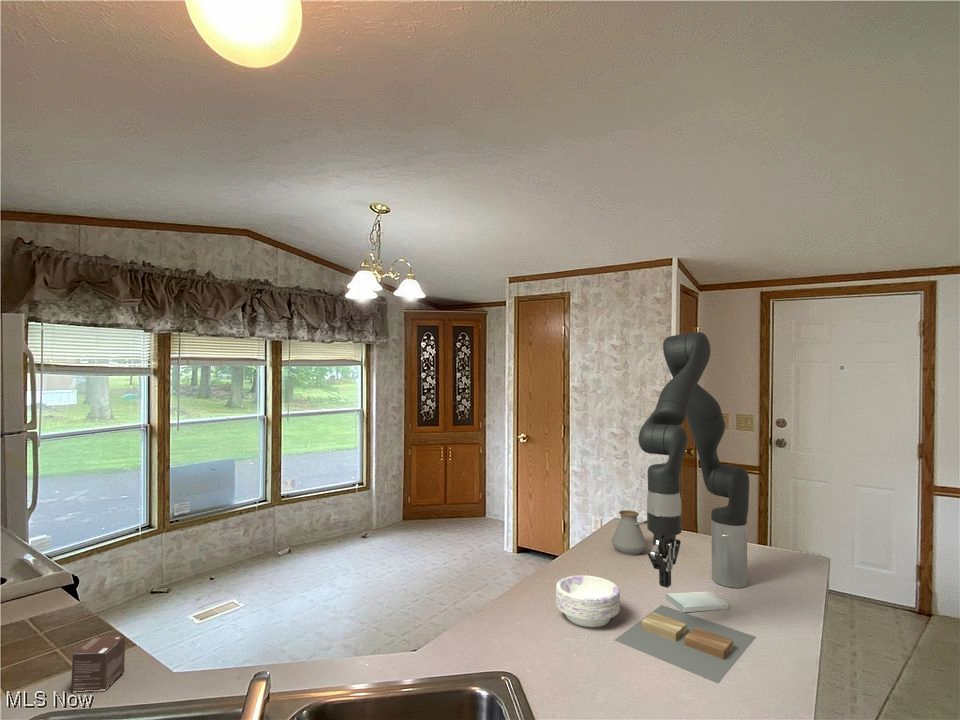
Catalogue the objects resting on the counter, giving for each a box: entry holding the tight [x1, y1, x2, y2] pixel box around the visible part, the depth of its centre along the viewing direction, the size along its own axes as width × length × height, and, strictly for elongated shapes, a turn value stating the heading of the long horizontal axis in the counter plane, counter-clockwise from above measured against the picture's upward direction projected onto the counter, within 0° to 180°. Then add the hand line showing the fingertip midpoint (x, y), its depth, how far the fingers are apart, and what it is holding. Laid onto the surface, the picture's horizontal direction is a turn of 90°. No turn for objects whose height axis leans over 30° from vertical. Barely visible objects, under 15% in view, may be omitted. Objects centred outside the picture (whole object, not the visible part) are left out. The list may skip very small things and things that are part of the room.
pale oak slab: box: [641, 611, 687, 642], centre depth 115 cm, size 2×8×6 cm
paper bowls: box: [555, 574, 621, 628], centre depth 121 cm, size 15×15×8 cm
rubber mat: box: [614, 604, 757, 684], centre depth 111 cm, size 24×22×1 cm
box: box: [70, 635, 126, 693], centre depth 95 cm, size 6×6×7 cm
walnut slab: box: [685, 627, 733, 660], centre depth 108 cm, size 2×8×6 cm
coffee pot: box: [610, 509, 648, 556], centre depth 164 cm, size 21×12×15 cm, turn 27°
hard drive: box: [664, 591, 729, 613], centre depth 128 cm, size 2×8×12 cm
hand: (665, 585), depth 115 cm, fingers closed
